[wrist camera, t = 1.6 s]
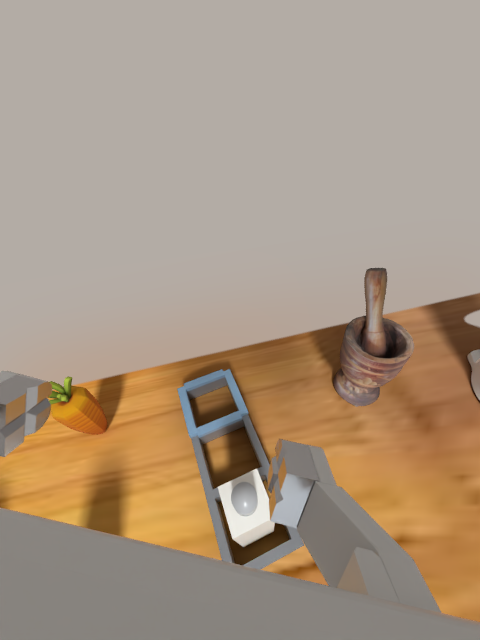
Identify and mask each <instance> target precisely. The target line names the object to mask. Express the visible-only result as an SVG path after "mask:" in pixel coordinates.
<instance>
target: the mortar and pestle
mask: <svg viewBox="0 0 480 640" xmlns="http://www.w3.org/2000/svg"><path fill="white" fill-rule="evenodd" d="M386 284H387V272H386V269H385V268H370V269H368V270H367V271H366V274H365V298H366V316H362V317H358V318H356V319H353V320H352V321H351V322H350V323H349V324H348V325H347V328H346V331H345V334H344V338H343V343H342V346H341V350H340V364H341V369H340V370H339V371H338V372H337V373H336V375H335V377H334V382H333V383H334V387H335V389H336V391H337V393H338V394H339V395H340V396H341V397H342V398H343V399H344V400H346V401H347V402H349V403H351V404H353V405H355V406H365V405H369V404H371V403H373V402H375V401H376V400H377V398H378V397H379V391H380V386H383V385H384V384H386V383H388V382H389V381H391V380H392V379H393V378H394V377H396V375H397V374H398V373H399V372H400V371H401V369H402V367H403V366H404V365H405V363H406V362H407V360H408V359H409V358H410V356H411V355H412V353H413V350H414V343H413V339H412V337H411V335H410V334H409V333H408V332H407V330H406V329H404V328H403V327H402V326H401V325H399V324H397V323H395V322H394V321H392V320H389V319H385V318H382V311H383V305H384V299H385V294H386Z"/></svg>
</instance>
